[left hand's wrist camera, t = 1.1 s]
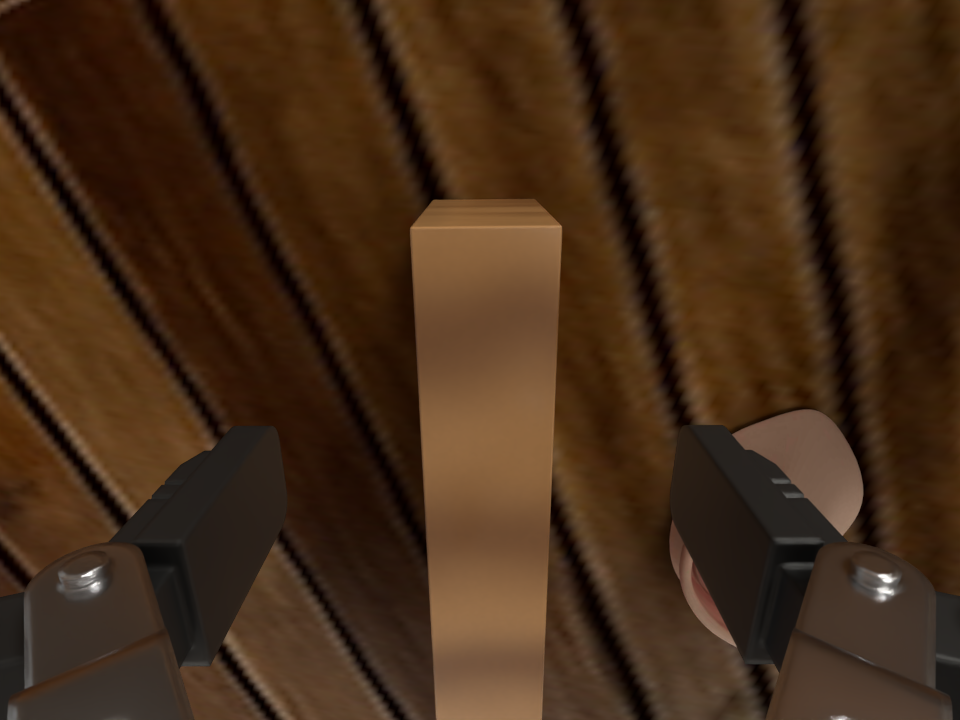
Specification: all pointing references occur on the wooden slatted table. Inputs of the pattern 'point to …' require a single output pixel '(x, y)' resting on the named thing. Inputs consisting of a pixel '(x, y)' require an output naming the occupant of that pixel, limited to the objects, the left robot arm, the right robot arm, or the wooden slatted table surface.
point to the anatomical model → (809, 465)
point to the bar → (487, 445)
